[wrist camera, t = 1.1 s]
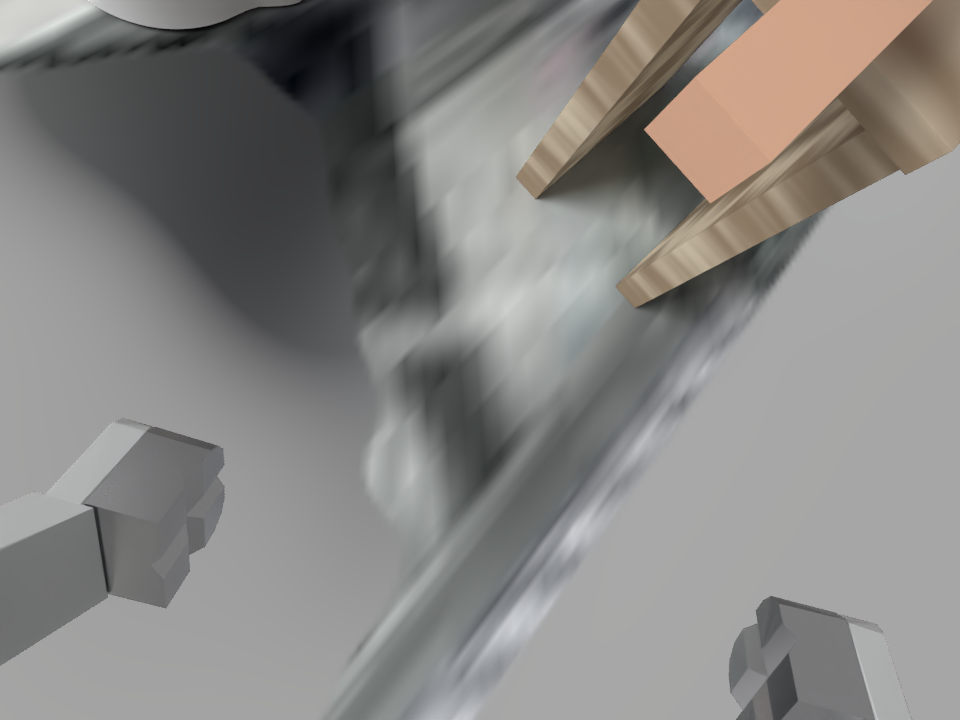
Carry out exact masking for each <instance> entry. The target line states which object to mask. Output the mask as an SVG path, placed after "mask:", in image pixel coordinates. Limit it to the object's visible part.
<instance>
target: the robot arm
mask: <svg viewBox="0 0 960 720" xmlns="http://www.w3.org/2000/svg"><path fill="white" fill-rule="evenodd" d="M87 1H89V2H90V3H92V4H93V5H95V6H96V7H98V8H100V9H102V10H103V11H105V12H107V13H109V14H111V15H114V16H116V17H118V18H121V19H123V20H126V21H129V22H132V23H136V24H139V25H144V26H148V27H154V28H163V29H190V28H198V27H204V26H208V25H212V24H216V23H219V22H222V21H224V20H227V19H229V18H231V17H234V16H236V15H238V14H240V13H242V12H244V11H247V10H250V9H253V8H256V7H270V6H285V5H292V4H295V3H298V2H300V1H302V0H87ZM223 466H224V454H223V448H221V447H219V446H217V445H214V444H210V443H207V442H204V441H200V440H197V439H193V438H191V437H187V436H184V435H181V434H177V433H174V432H171V431H167V430H164V429H161V428H157V427H152V426H149V425H146V424H142V423H139V422H135V421H132V420H129V419H125V418H121V419H119V420H117V421H115V422H113V423H111V424H110V425H109V426H108V427H107V428H106V429H105V431H104V432H103V433H102V434H101V435H100V436H99V437H98V438H97V439H96V440H95V441H94V442H93V444H92V445H91V446H90V447H89V448H88V449H87V450H86V451H85V452H84V453H83V454H82V455H81V456H80V458H78V460H77V461H76V462H75V463H74V464H73V465H72V466H71V467H70V468H69V469H68V470H67V471H66V472H65V474H64V475H63V476H62V477H61V478H60V479H59V480H58V481H57V482H56V484H54V485H53V487H51V489H50V490H49V491H48V492H47V493H46V494H43V493H39V492H33V493H30V494H28V495H25V496H23V497H20V498H18V499H16V500H13V501H10V502H8V503H6V504H3V505H0V666H1V665H2V664H4V663H5V662H7V661H8V660H10V659H12V658H13V657H15V656H16V655H18V654H19V653H21V652H23V651H24V650H26V649H27V648H29V647H31V646H32V645H34V644H35V643H37V642H38V641H40V640H42V639H43V638H45V637H46V636H48V635H49V634H51V633H52V632H54V631H56V630H57V629H59V628H61V627H62V626H64V625H65V624H67V623H68V622H70V621H72V620H73V619H75V618H76V617H78V616H79V615H81V614H83V613H84V612H86V611H87V610H89V609H90V608H92V607H94V606H95V605H97V604H98V603H100V602H101V601H103V600H104V599H106V598H107V597H108V594H111V595H115V596H118V597H123V598H127V599H130V600H134V601H138V602H143V603H147V604H151V605H154V606H158V607H162V608H167V606H168V604H169V603H170V602H171V600H172V598H173V597H174V595H175V594H176V592H177V590H178V589H179V587H180V586H181V584H182V583H183V581H184V579H185V578H186V576H187V575H188V573H189V572H190V563H189V555H190V554H192V553H194V552H196V551H197V550H200V549H202V548H203V547H205V546H206V544H207V542H208V541H209V539H210V537H211V536H212V534H213V532H214V531H215V528H216V525H217V523H218V520H219V518H220V515H221V513H222V508H223V503H224V485H223V484H222V482H221V481H220V480H219V478H218V477H217V475H218V473H219V472H220V470H221V469H222V468H223ZM756 615H757V622H758V623H757V624H754V625H752V626H750V627H746V628H744V629H743V630H742V631H741V633H740V635H739V636H738V638H737V639H736V641H735V643H734V646H733V650H732V653H731V657H730V662H729V683H730V692H731V694H732V696H733V697H734V698H735V700H736V701H737V703H738V704H739V706H740V707H741V708H742V710H743V711H742V712H741V714H740V715H739V716H738V718H737V719H736V720H912V718H911V715H910V712H909V709H908V706H907V703H906V700H905V697H904V694H903V691H902V688H901V685H900V682H899V679H898V676H897V673H896V670H895V667H894V664H893V661H892V658H891V655H890V651H889V648H888V645H887V642H886V639H885V636H884V633H883V631H882V630H881V629H880V628H879V626H878V625H877V624H874V623H870V622H867V621H863V620H859V619H855V618H852V617H848V616H844V615H838V614H837V613H834V612H830V611H827V610H823V609H819V608H815V607H811V606H807V605H804V604H800V603H795V602H792V601H788V600H784V599H781V598H777V597H773V596H770V597H768V598H766V599H765V600H763V601H762V603H761V604H760V605H759V607H758V608H757V610H756Z"/></svg>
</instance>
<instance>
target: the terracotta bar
mask: <svg viewBox="0 0 960 720" xmlns="http://www.w3.org/2000/svg"><path fill="white" fill-rule="evenodd" d="M932 1H933V0H780V1H779V2H778V3H777V4H776V5H775V6H773V7H772V8H771V9H770V10H769V11H768V12H767V13H766V14H765V15H763V16H762V17H761V18H760V19H759V20H758V21H757V22H756V23H755V24H753V25H752V26H751V27H750V28H749V29H748V30H747V31H746V32H745V33H743V34H742V35H741V36H740V37H739V38H738V39H737V40H736V41H735V42H733V43H732V44H731V45H730V46H729V47H728V48H727V49H726V50H725V51H723V52H722V53H721V54H720V55H719V56H718V57H717V58H716V59H715V60H713V61H712V62H711V63H710V64H709V65H708V66H707V67H706V68H705V69H703V70H702V71H701V72H700V73H699V74H698V75H697V76H696V77H695V78H694V79H693V80H692V81H691V82H690V83H689V84H688V85H687V86H686V87H685V88H684V89H683V90H682V91H681V92H680V93H679V94H678V95H677V96H676V97H675V98H674V99H673V100H672V101H671V102H670V103H669V104H668V105H667V106H666V108H665V109H664V110H663V111H662V112H661V113H660V114H659V115H658V116H657V117H656V118H655V119H654V120H653V121H652V122H651V123H650V124H649V125H648V126H647V127H646V128H645V129H644V130H645V131H646V132H647V133H648V135H649V136H650V137H651V138H652V139H653V140H654V141H655V142H656V144H657V145H658V146H659V147H660V148H661V149H662V150H663V151H664V152H665V154H666V155H667V156H668V157H669V158H670V159H671V160H672V161H673V163H674V164H675V165H676V166H677V167H678V168H679V169H680V170H681V171H682V173H683V174H684V175H685V176H686V177H687V178H688V179H689V180H690V181H691V183H692V184H693V185H694V186H695V187H696V188H697V189H698V190H699V192H700V193H701V194H702V195H703V196H704V197H705V198H706V199H707V200H708V202H709V203H712V202H713V201H715V200H716V199H718V198H719V197H721V196H722V195H724V194H725V193H726V192H728V191H729V190H731V189H732V188H734V187H735V186H737V185H738V184H740V183H741V182H743V181H744V180H746V179H747V178H748V177H750V176H751V175H753V174H754V173H756V172H757V171H759V170H760V169H762V168H763V167H765V166H766V165H767V164H769V163H770V162H772V161H773V160H774V159H775V158H776V157H777V156H778V155H779V154H780V153H781V152H782V151H783V150H784V149H785V148H786V147H787V146H788V145H789V144H790V143H791V142H792V141H793V140H794V139H795V138H796V137H797V136H798V135H799V134H800V133H801V132H802V131H803V130H804V129H805V128H806V127H807V126H808V125H809V124H810V123H811V122H812V121H813V120H814V119H815V118H816V117H817V116H818V115H819V114H820V113H821V112H822V111H823V110H824V109H825V108H826V107H827V106H828V105H829V104H830V103H831V102H832V101H833V100H834V99H835V98H836V97H837V96H838V95H839V94H840V93H841V92H842V91H843V90H844V89H845V88H846V87H847V86H848V85H849V84H850V83H851V82H852V81H853V80H854V79H855V78H856V77H857V76H858V75H859V74H860V73H861V72H862V71H863V70H864V69H865V68H866V67H867V66H868V65H869V64H870V63H871V62H872V61H873V60H874V59H875V58H876V57H877V56H878V55H879V54H880V53H881V52H882V51H883V50H884V49H885V48H886V47H887V46H888V45H889V44H890V43H891V42H892V41H893V40H894V39H895V38H896V37H897V36H898V35H899V34H900V33H901V32H902V31H903V30H904V29H905V28H906V27H907V26H908V25H909V24H910V23H911V22H912V21H913V20H914V19H915V18H916V17H917V16H918V15H919V14H920V13H921V12H922V11H923V10H924V9H925V8H926V7H927V6H928V5H929V4H930V3H931V2H932Z"/></svg>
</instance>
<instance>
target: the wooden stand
mask: <svg viewBox="0 0 960 720" xmlns="http://www.w3.org/2000/svg"><path fill="white" fill-rule="evenodd" d="M741 1H742V0H640V1H639V3H638V4H637V5H636V7H635V8H634V10H633V11H632V13H631V14H630V15H629V17H628V18H627V20H626V21H625V22H624V24H623V25H622V27H621V28H620V30H619V31H618V32H617V34H616V35H615V37H614V38H613V40H612V41H611V42H610V44H609V45H608V47H607V48H606V50H605V51H604V52H603V54H602V55H601V57H600V58H599V59H598V61H597V62H596V64H595V65H594V67H593V68H592V69H591V71H590V72H589V74H588V75H587V77H586V78H585V79H584V81H583V82H582V84H581V85H580V86H579V88H578V89H577V91H576V92H575V94H574V95H573V96H572V98H571V99H570V101H569V102H568V104H567V105H566V106H565V108H564V109H563V111H562V112H561V113H560V115H559V116H558V118H557V119H556V121H555V122H554V123H553V125H552V126H551V128H550V129H549V131H548V132H547V133H546V135H545V136H544V138H543V139H542V140H541V142H540V143H539V145H538V146H537V148H536V149H535V150H534V152H533V153H532V155H531V156H530V158H529V159H528V160H527V162H526V163H525V165H524V166H523V167H522V169H521V170H520V172H519V173H518V175H517V176H516V178H517V179H518V180H519V181H520V182H521V183H522V184H523V186H524V187H525V188H526V189H527V190H528V191H529V192H530V193H531V194H532V195H533V197H534V198H535V199H536V198H538V197H539V196H540V195H541V194H542V193H543V192H544V191H546V190H547V189H548V188H549V187H550V186H551V185H552V184H553V183H555V182H556V181H557V180H558V179H559V178H560V177H561V176H562V175H564V174H565V173H566V172H567V171H568V170H569V169H570V168H571V167H573V166H574V165H575V164H576V163H577V162H578V161H579V160H580V159H582V158H583V157H584V156H585V155H586V154H587V153H588V152H589V151H591V150H592V149H593V148H594V147H595V146H596V145H597V144H598V143H600V142H601V141H602V140H603V139H604V138H605V137H606V136H607V135H609V134H610V133H611V132H612V131H613V130H614V129H615V128H616V127H618V126H619V125H620V124H621V123H622V122H623V121H624V120H625V119H627V118H628V117H629V116H630V115H631V114H632V113H633V112H634V111H636V110H637V109H638V108H639V107H640V106H641V105H642V104H644V103H645V102H646V101H647V100H648V99H649V98H650V97H651V96H653V95H654V94H655V93H656V92H657V91H658V90H659V89H660V88H662V87H663V86H664V85H665V84H666V83H667V82H668V81H669V80H670V79H671V77H672V76H673V75H674V74H675V73H676V72H677V71H678V70H679V69H680V68H681V66H682V65H683V64H684V63H685V62H686V61H687V60H688V59H689V58H690V57H691V56H692V54H693V53H694V52H695V51H696V50H697V49H698V48H699V47H700V46H701V45H702V44H703V42H704V41H705V40H706V39H707V38H708V37H709V36H710V35H711V34H712V33H713V31H714V30H715V29H716V28H717V27H718V26H719V25H720V24H721V23H722V22H723V21H724V19H725V18H726V17H727V16H728V15H729V14H730V13H731V12H732V11H733V10H734V9H735V7H736V6H737V5H738V4H739V3H740V2H741ZM752 1H753V2H754V4H755V5H756V6H757V7H758V8H759V9H760V10H761V12H762V13H763V14H764V15H765V14H766V13H767V12H768V11H769V10H770V9H771V8H772V7H773V6H775V5H776V4H777V3H778V2H779V1H780V0H752ZM959 143H960V0H933V1H932V2H931V3H930V4H929V5H928V6H927V7H926V8H925V9H924V10H923V11H922V12H921V13H920V14H919V15H918V16H917V17H916V18H915V19H914V20H913V21H912V22H911V23H910V24H909V25H908V26H907V27H906V28H905V29H904V30H903V31H902V32H901V33H900V34H899V35H898V36H897V37H896V38H895V39H894V40H893V41H892V42H891V43H890V44H889V45H888V46H887V47H886V48H885V49H884V50H883V51H882V52H881V53H880V54H879V55H878V56H877V57H876V58H875V59H874V60H873V61H872V62H871V63H870V64H869V65H868V66H867V67H866V68H865V69H864V70H863V71H862V72H861V73H860V74H859V75H858V76H857V77H856V78H855V79H854V80H853V81H852V82H851V83H850V84H849V85H848V86H847V87H846V88H845V89H844V90H843V91H842V92H841V93H840V94H839V95H838V96H837V97H836V98H835V99H834V100H833V101H832V102H831V103H830V104H829V105H828V106H827V107H826V108H825V109H824V110H823V111H822V112H821V113H820V114H819V115H818V116H817V117H816V118H815V119H814V120H813V121H812V122H811V123H810V124H809V125H808V126H807V127H806V128H805V129H804V130H803V131H802V132H801V133H800V134H799V135H798V136H797V137H796V138H795V139H794V140H793V141H792V142H791V143H790V144H789V145H788V146H787V147H786V148H785V149H784V150H783V151H782V152H781V153H780V154H779V155H778V156H777V157H776V158H775V159H774V160H773V161H772V162H770V163H769V164H767V165H766V166H765V167H763V168H762V169H760V170H759V171H757V172H756V173H754V174H753V175H751V176H750V177H748V178H747V179H746V180H744V181H743V182H741V183H740V184H738V185H737V186H735V187H734V188H732V189H731V190H729V191H728V192H726V193H725V194H724V195H722V196H721V197H719V198H718V199H716V200H715V201H713V202H712V203H709V202H708V200H707V199H706V198H705V199H704V200H703V201H702V202H701V203H700V204H699V205H698V206H697V207H696V208H695V209H694V210H693V211H692V212H691V213H690V214H689V215H688V216H687V217H686V218H685V219H684V220H683V221H682V222H681V223H680V224H679V225H678V226H677V227H675V228H674V229H673V230H672V231H671V232H670V233H669V234H668V235H667V236H666V237H665V238H664V239H663V240H662V241H661V242H660V243H659V244H658V245H657V246H656V247H655V248H654V249H653V250H652V251H651V252H650V253H649V254H648V255H647V256H646V257H645V258H644V259H643V260H642V261H641V262H640V263H639V264H638V265H637V266H636V267H635V268H634V269H633V270H632V271H631V272H630V273H629V274H628V275H627V276H626V277H625V278H624V279H623V280H622V281H620V282H619V283H618V284H617V285H616V286H615V287H616V288H617V289H618V290H619V291H620V292H621V293H622V294H623V296H624V297H625V298H626V299H627V300H628V301H629V302H630V303H631V304H632V305H633V307H634V308H636V307H638V306H640V305H642V304H644V303H646V302H648V301H650V300H652V299H654V298H656V297H657V296H659V295H661V294H663V293H665V292H667V291H669V290H671V289H673V288H675V287H677V286H678V285H680V284H682V283H684V282H686V281H688V280H690V279H692V278H694V277H696V276H697V275H699V274H701V273H703V272H705V271H707V270H709V269H711V268H713V267H715V266H717V265H718V264H720V263H722V262H724V261H726V260H728V259H730V258H732V257H734V256H736V255H738V254H739V253H741V252H743V251H745V250H747V249H749V248H751V247H753V246H755V245H757V244H759V243H760V242H762V241H764V240H766V239H768V238H770V237H772V236H774V235H776V234H778V233H780V232H781V231H783V230H785V229H787V228H789V227H791V226H793V225H795V224H797V223H799V222H801V221H802V220H804V219H806V218H808V217H810V216H812V215H814V214H816V213H818V212H820V211H822V210H823V209H825V208H827V207H829V206H831V205H833V204H835V203H837V202H839V201H841V200H843V199H844V198H846V197H848V196H850V195H852V194H854V193H856V192H858V191H860V190H861V189H864V188H865V187H867V186H869V185H871V184H873V183H875V182H877V181H879V180H881V179H883V178H885V177H886V176H888V175H890V174H892V173H894V172H896V171H898V170H901V171H902V172H903V173H904V174H905V175H906V174H908V173H910V172H912V171H914V170H916V169H918V168H920V167H922V166H924V165H926V164H928V163H930V162H932V161H934V160H936V159H938V158H940V157H942V156H943V155H945V154H947V153H949V152H951V151H952V150H953V149H954V148H955V147H956V146H957V145H958V144H959Z"/></svg>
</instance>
